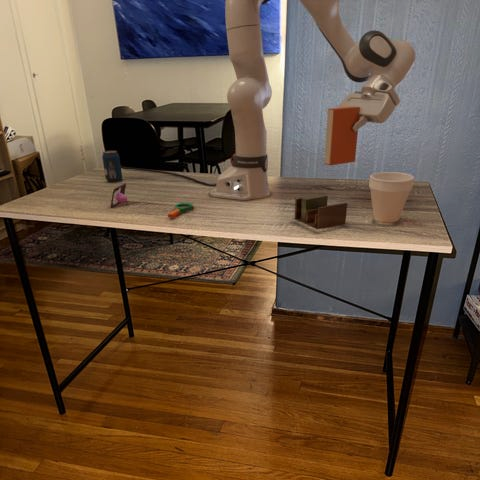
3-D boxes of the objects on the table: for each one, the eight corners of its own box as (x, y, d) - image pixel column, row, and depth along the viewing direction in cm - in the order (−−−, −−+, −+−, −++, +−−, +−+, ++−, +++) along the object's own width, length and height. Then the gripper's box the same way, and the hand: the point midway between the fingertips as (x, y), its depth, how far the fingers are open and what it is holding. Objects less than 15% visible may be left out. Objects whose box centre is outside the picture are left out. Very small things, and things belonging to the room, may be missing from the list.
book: (323, 164, 144) (327, 108, 136) (348, 160, 148) (353, 106, 140) (329, 165, 142) (333, 109, 134) (354, 161, 146) (360, 107, 138)
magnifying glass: (179, 205, 159) (179, 200, 158) (195, 206, 157) (195, 201, 156) (161, 218, 146) (161, 213, 145) (179, 219, 145) (178, 214, 144)
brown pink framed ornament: (123, 182, 163) (111, 188, 156) (136, 187, 163) (125, 194, 155) (120, 199, 167) (108, 206, 159) (133, 205, 167) (121, 212, 159)
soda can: (118, 178, 200) (113, 149, 194) (125, 180, 195) (121, 151, 189) (103, 181, 196) (98, 151, 190) (110, 183, 191) (105, 153, 185)
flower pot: (413, 221, 139) (421, 175, 132) (395, 231, 131) (402, 183, 124) (376, 213, 146) (382, 170, 139) (357, 223, 138) (362, 177, 131)
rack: (293, 222, 140) (293, 197, 137) (321, 216, 145) (323, 192, 141) (316, 233, 131) (318, 206, 127) (346, 226, 136) (348, 200, 132)
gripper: (348, 84, 146) (322, 119, 147) (395, 86, 131) (366, 125, 131) (357, 98, 150) (332, 133, 151) (404, 102, 135) (375, 140, 136)
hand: (348, 129), depth 141 cm, fingers closed on book, 3 cm apart
